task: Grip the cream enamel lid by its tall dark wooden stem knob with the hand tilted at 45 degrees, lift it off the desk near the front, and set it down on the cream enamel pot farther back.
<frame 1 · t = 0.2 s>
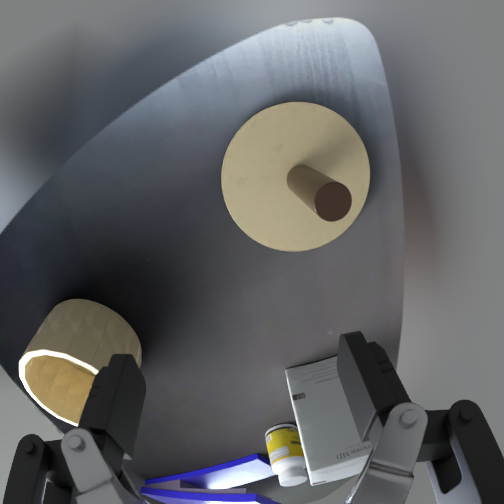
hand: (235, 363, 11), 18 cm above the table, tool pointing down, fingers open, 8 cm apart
stapler: (208, 477, 48), on the table
lid: (299, 178, 26), point 1 cm above the table
supplement bottle: (281, 430, 42), on the table
pot: (92, 342, 31), on the table
cosmetic box: (314, 374, 37), on the table
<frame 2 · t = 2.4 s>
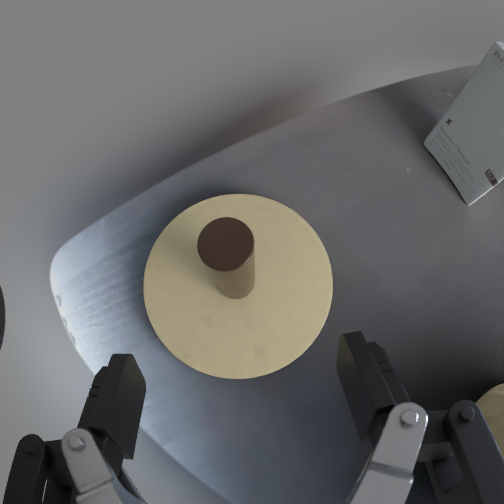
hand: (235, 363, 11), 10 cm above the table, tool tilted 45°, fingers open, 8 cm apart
lid: (236, 282, 21), point 1 cm above the table
pot: (493, 444, 16), on the table
cosmetic box: (459, 168, 25), on the table
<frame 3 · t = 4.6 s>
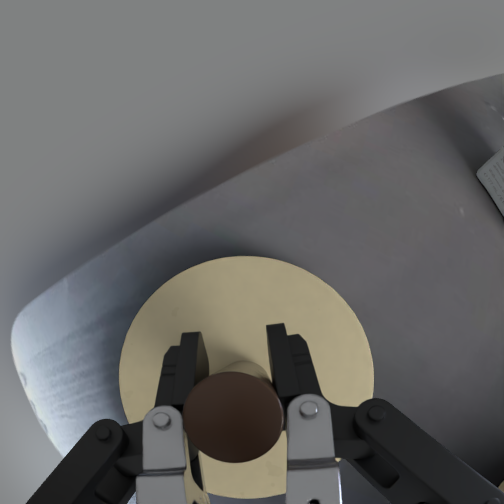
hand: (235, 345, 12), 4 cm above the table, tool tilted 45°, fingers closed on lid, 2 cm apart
lid: (244, 384, 14), point 1 cm above the table, touching gripper
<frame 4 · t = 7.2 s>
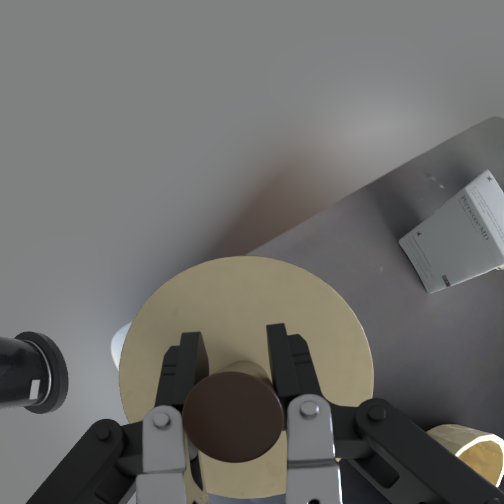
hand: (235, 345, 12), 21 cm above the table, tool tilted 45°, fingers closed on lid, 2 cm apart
lid: (244, 384, 14), point 18 cm above the table, touching gripper
pot: (434, 466, 26), on the table
cosmetic box: (427, 259, 34), on the table
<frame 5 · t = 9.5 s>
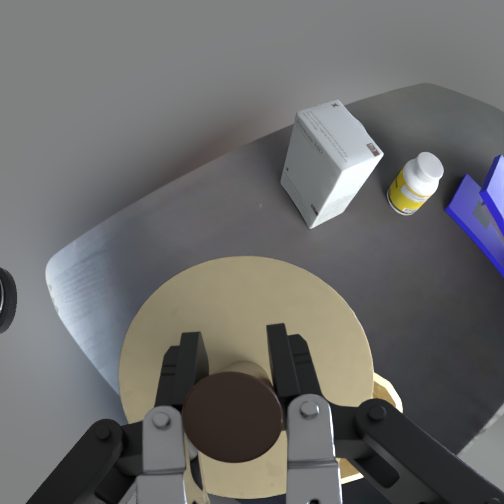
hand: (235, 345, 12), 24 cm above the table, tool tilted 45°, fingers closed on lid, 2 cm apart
stapler: (503, 249, 39), on the table
lid: (244, 384, 14), point 21 cm above the table, touching gripper
supplement bottle: (401, 200, 41), on the table
pot: (326, 413, 32), on the table
cosmetic box: (313, 199, 41), on the table
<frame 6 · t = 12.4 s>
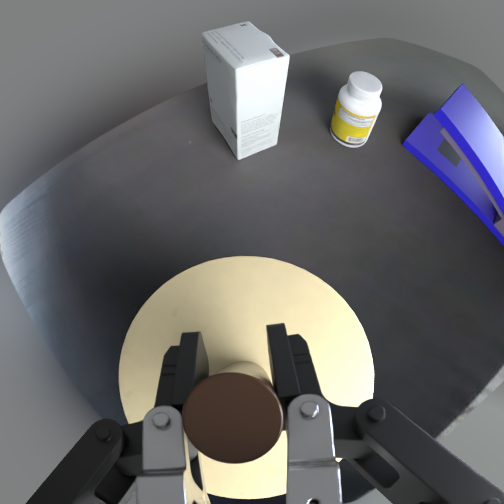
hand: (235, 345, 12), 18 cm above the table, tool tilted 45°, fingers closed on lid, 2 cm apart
stapler: (481, 192, 35), on the table
lid: (244, 384, 14), point 15 cm above the table, touching gripper
supplement bottle: (347, 134, 38), on the table
cosmetic box: (245, 133, 38), on the table
when the fingers open (12 cm above the table, at t = 14.5 s): lid stays where it is, resting on pot.
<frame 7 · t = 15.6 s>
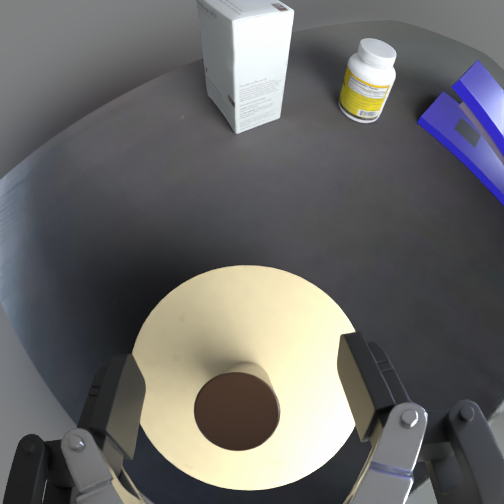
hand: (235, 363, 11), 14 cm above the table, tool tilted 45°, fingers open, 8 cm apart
stapler: (500, 176, 30), on the table
lid: (246, 383, 16), point 8 cm above the table, touching pot
supplement bottle: (358, 109, 33), on the table
cosmetic box: (244, 107, 33), on the table
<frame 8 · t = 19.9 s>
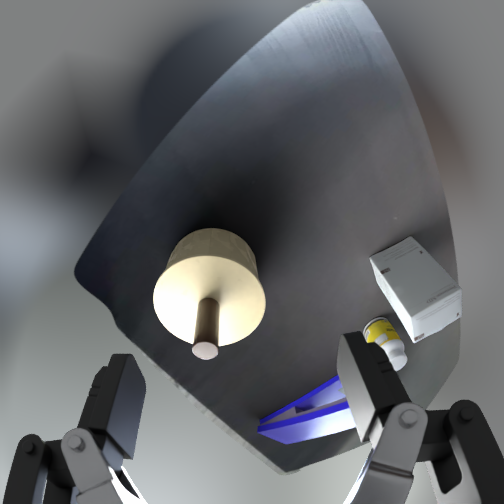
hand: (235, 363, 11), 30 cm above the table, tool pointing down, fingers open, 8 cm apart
stapler: (318, 400, 60), on the table
lid: (209, 303, 36), point 8 cm above the table, touching pot
supplement bottle: (375, 326, 51), on the table
pot: (212, 268, 43), on the table
cosmetic box: (392, 260, 45), on the table
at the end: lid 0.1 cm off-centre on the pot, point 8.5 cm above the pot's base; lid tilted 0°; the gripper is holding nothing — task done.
